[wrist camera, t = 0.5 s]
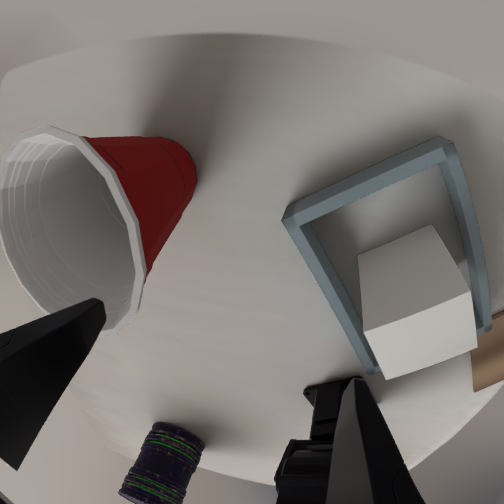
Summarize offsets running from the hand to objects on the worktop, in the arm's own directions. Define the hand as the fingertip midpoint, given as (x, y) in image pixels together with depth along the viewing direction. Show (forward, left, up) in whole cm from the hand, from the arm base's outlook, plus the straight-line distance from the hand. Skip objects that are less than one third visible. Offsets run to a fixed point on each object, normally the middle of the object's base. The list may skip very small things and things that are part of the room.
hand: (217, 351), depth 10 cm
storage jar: (-28, +35, -14) cm, 47 cm away
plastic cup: (+6, +6, -14) cm, 16 cm away
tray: (-8, -6, -13) cm, 17 cm away
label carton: (-8, -6, -14) cm, 17 cm away
